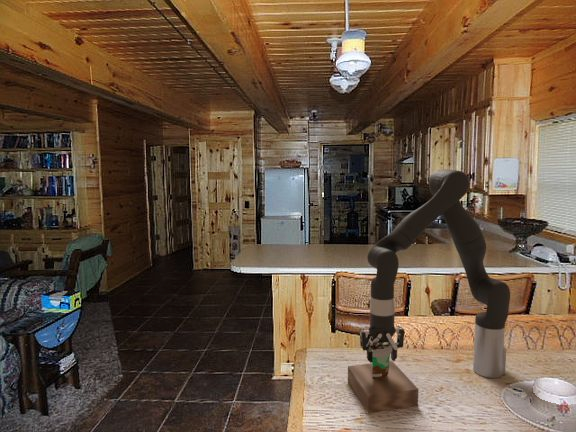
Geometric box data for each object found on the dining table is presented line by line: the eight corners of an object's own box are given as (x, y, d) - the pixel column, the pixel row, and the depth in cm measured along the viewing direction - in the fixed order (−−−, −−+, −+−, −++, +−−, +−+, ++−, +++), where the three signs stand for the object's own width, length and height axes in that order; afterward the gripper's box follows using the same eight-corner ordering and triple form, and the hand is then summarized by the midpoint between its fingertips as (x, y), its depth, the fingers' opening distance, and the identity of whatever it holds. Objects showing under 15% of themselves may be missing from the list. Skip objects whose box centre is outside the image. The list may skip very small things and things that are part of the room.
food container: (393, 383, 126) (393, 352, 124) (372, 381, 127) (372, 350, 125) (391, 363, 138) (391, 334, 136) (372, 361, 139) (372, 333, 137)
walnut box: (391, 377, 143) (392, 360, 143) (417, 407, 126) (418, 389, 125) (347, 382, 140) (347, 366, 140) (368, 414, 123) (368, 395, 122)
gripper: (400, 305, 134) (399, 353, 136) (356, 307, 132) (356, 356, 135) (409, 313, 126) (408, 364, 129) (363, 316, 125) (362, 368, 127)
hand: (381, 360), depth 132 cm, fingers closed on food container, 7 cm apart
